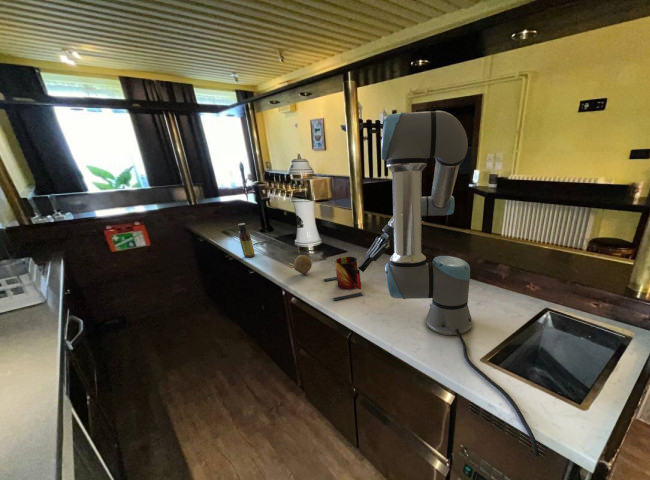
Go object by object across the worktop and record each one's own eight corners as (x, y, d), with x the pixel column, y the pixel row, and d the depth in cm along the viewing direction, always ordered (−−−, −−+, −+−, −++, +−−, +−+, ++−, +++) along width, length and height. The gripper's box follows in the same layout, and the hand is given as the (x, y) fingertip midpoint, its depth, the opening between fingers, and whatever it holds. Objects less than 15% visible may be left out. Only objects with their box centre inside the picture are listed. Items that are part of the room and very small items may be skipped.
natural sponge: (314, 275, 150) (311, 256, 145) (296, 278, 147) (292, 259, 143) (312, 269, 157) (309, 251, 153) (294, 272, 155) (291, 254, 150)
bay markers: (362, 295, 127) (362, 294, 127) (334, 301, 123) (334, 300, 123) (348, 275, 148) (348, 274, 148) (324, 279, 144) (324, 279, 144)
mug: (360, 292, 130) (358, 266, 125) (333, 287, 135) (330, 262, 130) (370, 283, 138) (369, 258, 133) (345, 279, 143) (342, 255, 138)
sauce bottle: (246, 255, 185) (238, 222, 177) (256, 254, 186) (248, 222, 177) (242, 258, 179) (234, 225, 171) (253, 257, 180) (245, 224, 172)
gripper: (405, 237, 130) (370, 279, 132) (394, 230, 141) (362, 269, 143) (393, 226, 126) (358, 270, 128) (382, 220, 137) (350, 261, 139)
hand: (360, 270), depth 136 cm, fingers closed
